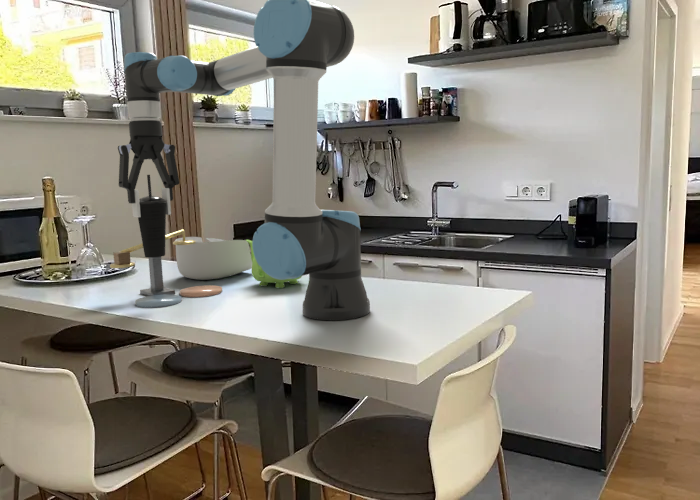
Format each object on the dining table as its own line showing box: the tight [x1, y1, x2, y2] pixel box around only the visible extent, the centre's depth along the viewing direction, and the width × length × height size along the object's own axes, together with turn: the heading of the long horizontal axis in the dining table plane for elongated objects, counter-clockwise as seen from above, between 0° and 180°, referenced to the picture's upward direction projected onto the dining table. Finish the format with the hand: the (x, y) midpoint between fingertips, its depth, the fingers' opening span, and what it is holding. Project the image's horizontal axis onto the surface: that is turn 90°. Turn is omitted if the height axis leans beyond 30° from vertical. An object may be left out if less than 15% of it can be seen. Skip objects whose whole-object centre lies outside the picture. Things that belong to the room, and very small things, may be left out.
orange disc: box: [179, 284, 223, 298], centre depth 166 cm, size 11×11×1 cm
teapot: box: [245, 239, 303, 289], centre depth 174 cm, size 16×14×13 cm
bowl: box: [174, 236, 252, 281], centre depth 189 cm, size 20×19×12 cm
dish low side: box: [135, 294, 183, 309], centre depth 156 cm, size 11×11×1 cm
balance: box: [109, 228, 196, 297], centre depth 165 cm, size 8×24×16 cm, turn 133°
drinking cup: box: [137, 174, 167, 259], centre depth 153 cm, size 8×8×20 cm
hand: (152, 215), depth 153 cm, fingers closed on drinking cup, 7 cm apart
